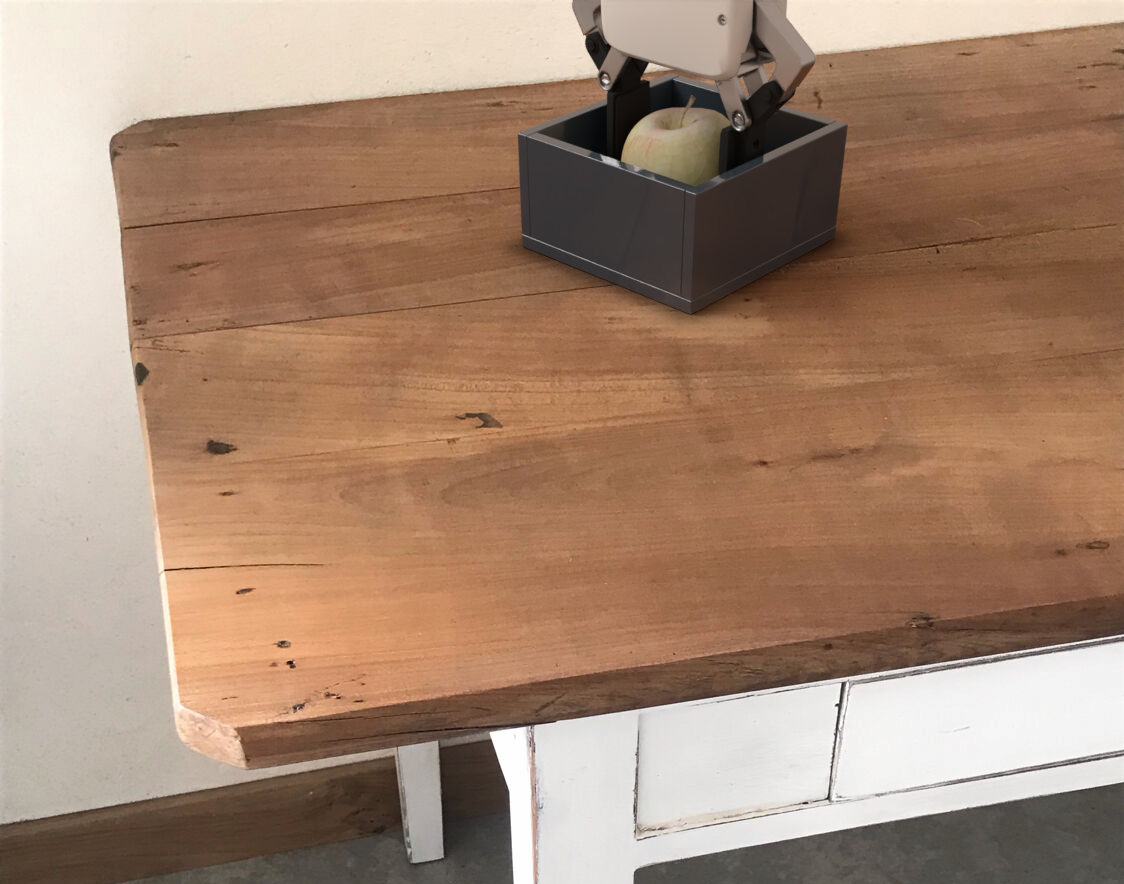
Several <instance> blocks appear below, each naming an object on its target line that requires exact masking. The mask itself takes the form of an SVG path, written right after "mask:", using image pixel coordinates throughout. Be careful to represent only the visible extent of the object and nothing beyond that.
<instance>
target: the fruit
mask: <svg viewBox="0 0 1124 884" xmlns="http://www.w3.org/2000/svg"><path fill="white" fill-rule="evenodd" d="M695 99H696V98H695V97H694V96H693V95H691V97H690V100H689V102H688V104H687V106H686V108H667V109H663V110H658V111H656V112H653V113H651V114H649V115H647V116H646V117H644V118H643V119H642V120H640V121H639V122H638V123H637V124H636V125H635V126H634V127H633V129H632V130H631V132H630V133H629V135H628V137H627V139H626V142H625V144H624V148H623V151H622V158H621V161H622V162H625V163H628V164H630V165H633V166H636V167H639V168H642V169H645V170H648V171H651V172H654V173H657V174H660V175H663V176H666V177H669V178H672V179H674V180H677V181H680V182H683V183H686V184H689V185H692V186H694V187H695V186H697V185H699V184H701V183H703V182H705V181H708V180H710V179H712V178H714V177H716V176H718V166H719V148H720V133H721V131H722V129H723V128H725V127H727V126H730V125H731V123H730V121H729V120H728V119H727V118H726V117H725V116H723V115H722V114H721V113H719V112H717V111H715V110H710V109H704V108H690V107H691V106H692V104H693V103H694V101H695Z"/></svg>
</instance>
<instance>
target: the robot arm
mask: <svg viewBox="0 0 1124 884" xmlns="http://www.w3.org/2000/svg"><path fill="white" fill-rule="evenodd" d="M571 8H572V12H573V14H574V17H575V19H576V21H577V23H578V26H579V29H580V31H581V33H582V35H583V37H584V36H585V39H584V46H585V49H586V51H587V54H589V56H590V57H589V58H591V61H592V62H593V63H594V66H595V67H596V70H597V71H598V73H597V77H596V78H597V84H598V86H599V88H600V89H601V90H602V91H604V92H607V93H606V98H607V157H610V158H613V159H616V160H619V161H621V158H622V151H623V148H624V144H625V142H626V139H627V137H628V135H629V133H630V132H631V130H632V129H633V127H634V126H635V125H636V124H637V123H638V122H639V121H640V120H642V119H643V118H644V117H646V116H647V115H649V114H650V103H651V88H650V81H651V80H647V79H644V78H643V79H642V76H643V75H644V74H645V72H646V70H647V68H648V66H649V64H653V65H657V66H659V67H663V68H667V69H671V70H673V71H678V72H681V73H684V74H687V75H692V76H695V77H699V78H703V79H707V80H711V81H714V84H715V86H717V88H718V91H719V94H720V97H721V99H722V102H723V105H724V107H725V110H726V113H727V115H728V118H729V121H730V123H731V125H730V126H727V127H725V128H723V129H722V131H721V133H720V148H719V166H718V175H721V174H723V173H725V172H727V171H729V170H732V169H734V168H736V167H738V166H740V165H742V164H745V163H747V162H749V161H751V160H753V159H756V158H758V157H760V156H762V155H764V145H765V132H766V121H767V120H769V119H771V118H773V117H774V116H775V115H776V114H777V111H778V110H779V109H780V108H781V107H782V106H785V105H786V104H788V102H789V101H790V100H791V99H792V98H793V97H794V96H795V93H796V92H797V91H796V90H797V88H798V87H800V85H801V84H802V83H803V81H805V79H806V77H807V76H808V75H809V73H810V72H811V70H812V69H813V68H814V66H815V64H816V54H815V52H814V51H813V50H812V48H811V46H809V44H808V43H807V41H806V40H805V39H804V38H803V37H802V35H801V34H800V33H799V31H798V30H797V28H796V27H795V26H794V25H793V24H792V22H791V21H790V20H789V19H788V17H787V11H788V0H572V2H571ZM773 62H775V65H774V66H775V67H774V70H773V72H772V73H771V76H770V78H769V77H768V75H767V72H766V69H765V66H764V65H766V64H771V63H773ZM741 78H742V80H743V82H744V85H745V87H746V90H747V93H748V95H749V96H750V98H749V99H748V100H747V99H746V97H745V95H746V93H745V91H744V88H743V86H742V84H741V81H740V79H741Z"/></svg>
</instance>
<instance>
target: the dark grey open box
mask: <svg viewBox="0 0 1124 884" xmlns="http://www.w3.org/2000/svg"><path fill="white" fill-rule="evenodd" d="M649 81H650V88H651V103H650V114H651V113H653V112H656V111H658V110H663V109H667V108H686V106H687V104H688V102H689V100H690V97H691V95H693V96H694V97H695V98H696V99H695V101H694V103H693V104H692V106H691V107H690V108H704V109H710V110H715V111H717V112H719V113H721V114H722V115H723V116H725V117H726V118H727V119H728V120H729V118H728V115H727V113H726V110H725V107H724V105H723V102H722V99H721V97H720V94H719V91H718V88H717V86H716V85H713V84H710V83H707V82H704V81H700V80H697V79H693V78H689V77H687V76H684V75H683V76H682V75H679V74H676V73H672V72H670V73H668V74H665V75H663V76H660V77H657V78H655V79H652V80H649ZM745 97H746V99H747V100H748V99H749V98H750V96H749V94H745ZM848 127H849V124H848V123H847V122H842V121H839V120H835V119H831V118H828V117H824V116H821V115H818V114H814V113H810V112H807V111H803V110H800V109H797V108H793V107H791V106H787V105H783V106H782V107H781V108H780V109H779V110H778V111H777V114H776V115H775V116H774V117H773V118H771V119H769V120H767V121H766V132H765V145H764V155H762V156H760V157H758V158H756V159H753V160H751V161H749V162H747V163H745V164H742V165H740V166H738V167H736V168H734V169H732V170H729V171H727V172H725V173H723V174H721V175H718V176H716V177H714V178H712V179H710V180H708V181H705V182H703V183H701V184H699V185H697V186H695V187H694V186H692V185H689V184H686V183H683V182H680V181H677V180H674V179H672V178H669V177H666V176H663V175H660V174H657V173H654V172H651V171H648V170H645V169H642V168H639V167H636V166H633V165H630V164H628V163H625V162H622V161H619V160H616V159H613V158H610V157H607V97H605V98H604V99H603V98H602V99H601V100H598V101H596V102H593V103H591V104H588V105H585V106H583V107H580V108H578V109H575V110H573V111H570V112H568V113H565V114H562V115H560V116H557V117H555V118H553V119H550V120H547V121H545V122H544V121H543V122H542V123H539V124H537V125H534V126H532V127H529V128H525V129H524V130H522V131H519V132H517V152H518V175H519V196H520V197H519V198H520V199H519V201H520V218H521V219H520V221H521V222H520V223H521V246H522V248H525V249H528V250H530V251H533V252H535V253H538V254H540V255H543V256H545V257H548V258H551V259H553V260H555V261H558V262H560V263H562V264H565V265H567V266H570V267H573V268H575V269H577V270H580V271H582V272H585V273H588V274H590V275H592V276H594V277H597V278H599V279H602V280H604V281H606V282H608V283H609V282H610V283H612V284H615V285H617V286H619V287H622V288H623V289H627V290H629V291H632V292H635V293H637V294H639V295H642V296H644V297H646V298H650V299H652V300H654V301H656V302H659V303H661V304H664V305H666V306H669V307H671V308H674V309H676V310H679V311H682V312H684V313H686V314H688V315H692V314H694V313H696V312H698V311H700V310H703V309H705V308H706V307H708V306H709V305H711V304H713V303H715V302H717V301H719V300H721V299H723V298H725V297H726V296H728V295H731V294H732V293H734V292H736V291H738V290H740V289H742V288H743V287H746V286H747V285H749V284H751V283H753V282H755V281H757V280H758V279H760V278H762V277H764V276H767V275H768V274H770V273H772V272H773V271H776V270H778V269H780V268H781V267H783V266H785V265H786V264H788V263H791V262H792V261H795V260H796V259H798V258H800V257H802V256H804V255H806V254H807V253H810V252H812V251H813V250H815V249H817V248H819V247H820V246H823V245H825V244H827V243H828V242H830V241H832V240H834V239H835V237H836V231H837V230H836V229H837V221H838V213H839V203H840V195H841V187H842V179H843V170H844V161H845V155H846V154H845V153H846V145H847V134H848Z"/></svg>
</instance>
